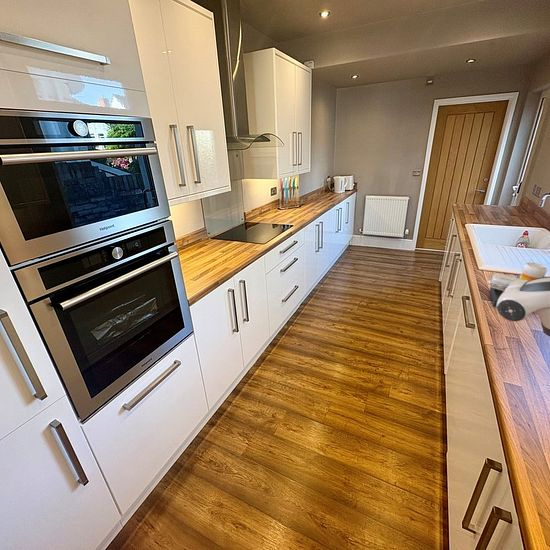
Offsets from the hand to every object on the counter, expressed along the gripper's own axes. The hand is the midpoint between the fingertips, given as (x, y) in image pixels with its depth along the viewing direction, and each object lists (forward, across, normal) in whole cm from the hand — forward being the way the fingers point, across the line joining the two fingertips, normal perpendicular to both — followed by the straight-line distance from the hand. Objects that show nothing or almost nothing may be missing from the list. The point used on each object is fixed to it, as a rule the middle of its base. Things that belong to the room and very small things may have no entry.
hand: (530, 281), depth 104 cm
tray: (+15, -5, -17) cm, 23 cm away
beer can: (-1, 0, -9) cm, 9 cm away
